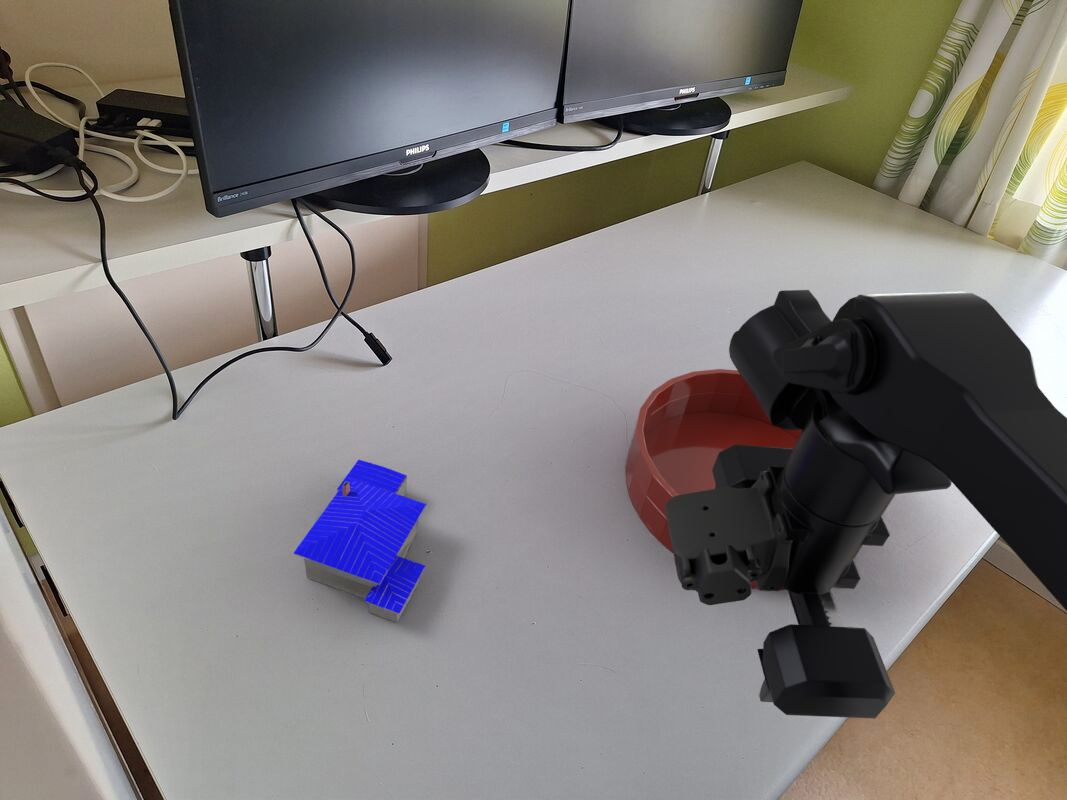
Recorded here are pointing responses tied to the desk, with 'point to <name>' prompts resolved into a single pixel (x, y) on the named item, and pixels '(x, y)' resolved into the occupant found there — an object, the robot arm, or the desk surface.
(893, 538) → the desk surface
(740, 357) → the robot arm
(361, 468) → the house
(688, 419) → the red round bowl
